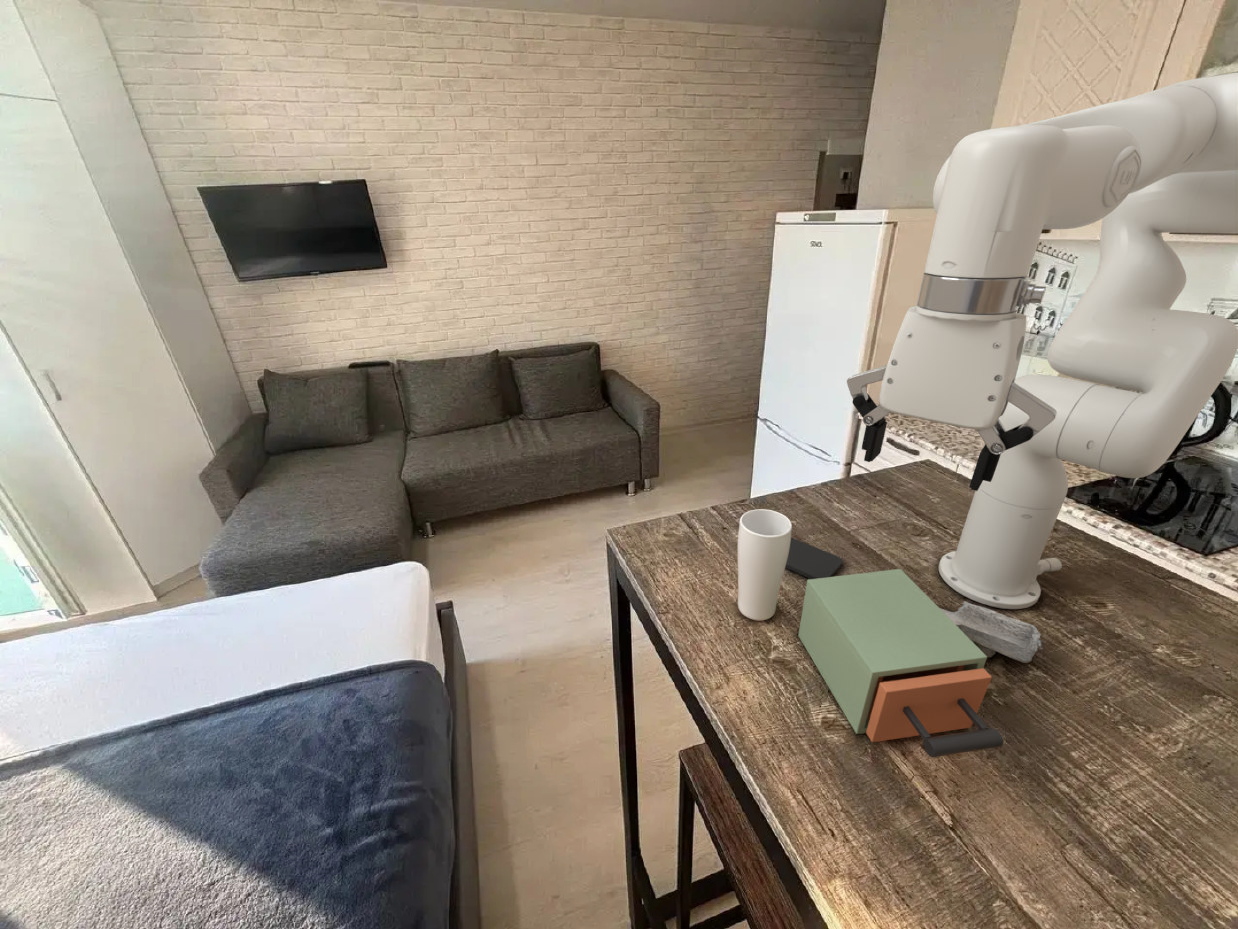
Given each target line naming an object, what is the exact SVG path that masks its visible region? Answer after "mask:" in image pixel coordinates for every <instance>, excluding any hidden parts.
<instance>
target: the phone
mask: <svg viewBox="0 0 1238 929" xmlns="http://www.w3.org/2000/svg"><path fill="white" fill-rule="evenodd" d="M843 564H844V560H843V558H841V557H840V556H838V555H836V554H833V553H830V552H828V551H826V550H824V549H820V548H818V547H816V546H813V545H811V544H808V543H805V542H804V541H801V540H798V539H796V538H794V537H791V543H790V550H789V555H788V559H787V563H786V567H785V569H787V570H789V571H791V572H794V573H796V574H798V575H801V576H804V577H805V578H807V579H809V580H810V579H818V578H827V577H834V576H835V575H836V573H838V571H839V570H840V569H841V568H842V566H843Z"/></svg>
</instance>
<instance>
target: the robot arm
mask: <svg viewBox="0 0 1238 929" xmlns="http://www.w3.org/2000/svg"><path fill="white" fill-rule="evenodd" d="M932 190H933V191H932V205H933V206H932V207H933V210H934V212H935V214H936V217H935V222H934V226H933V232H932V235H931V240H930V244H929V248H928V252H927V257H926V261H925V267H924V270H923V275H922V279H921V284H920V288H919V292H918V296H917V302H916V305H915V306H910V307H909V308H908V309H907V311H906V313H905V315H904V317H903V320H902V322H901V324H900V326H899V330H898V332H897V334H896V338H895V340H894V343H893V346H892V349H891V352H890V355H889V358H888V362H887V364H886V365H882V366H879V367H875V368H872V369H869V370H865V371H862V372H859V373H855V374H852V375H851V376H850V377H848V378H847V379H846V385H847V387H848V391H849V394H850V397H851V398H852V405H853V407H854V408H855V410H857V413H859V415H860V416H861V418H862V422H863V424H864V425H865V429H864V434H863V438H862V443H861V450H863V451H865V454H864V457H863V458H864V459H863V461H864V462H867V463H870V462H873V461H874V460H875V459H876V458H877V457H878V456H879V455H880V454H881V452H882V448H883V444H884V438H885V434H886V430H887V427H888V426H887V425H888V421H887V418H885V417H886V416H888V415H889V414H891V413H893V414H895V415H899V416H903V417H908V418H914V419H918V420H923V421H928V422H933V423H937V424H942V425H948V426H953V427H957V428H963V429H967V430H968V429H969V430H976V431H977V433H978V434H979V436H980V438H981V439H982V441H983V443H984V446H983V447H982V449H981V450H980V452H979V455H978V458H977V461H976V464H975V467H974V470H973V473H972V476H971V480H970V483H969V486H968V487H969V488H970V490H972V491H974V494H973V498H972V500H971V503H970V507H969V510H968V513H967V516H966V518H965V522H964V525H963V527H962V532H961V534H960V537H959V541H958V544H957V547H956V550H954V551H953V550H952V551H950V552H948V553H946V554H944V555H943V556H942V557H941V558H940V559H939V564H938V572H939V576H940V577H941V578H942V580H943V581H944V583H946V584H947V585H948V586H949V587H950V588H952V590H954V591H955V592H957V593H958V594H960V595H962V596H963V597H966V598H967V599H970V600H972V601H974V602H977V603H978V604H982V605H985V606H989V607H991V608H998V609H1005V610H1022V609H1026V608H1030V607H1032V606H1034V605H1035V604H1036V603H1037V602H1038V600H1039V598H1040V596H1041V594H1042V593H1041V592H1042V588H1041V586H1040V584H1039V582H1038V580H1037V577H1038V576H1041V575H1043V574H1044V573H1051V572H1058V571H1061V569H1062V568H1063V563H1062V561H1061V560H1060V559H1059V558H1057V557H1048V558H1042V555H1043V552H1044V550H1045V548H1046V545H1047V543H1048V540H1049V538H1050V535H1051V533H1052V531H1053V528H1054V526H1055V524H1056V521H1057V518H1058V516H1059V514H1060V512H1061V509H1062V507H1063V505H1064V503H1065V500H1066V497H1067V494H1068V489H1069V479H1068V474H1067V470H1066V468H1065V465H1064V463H1063V461H1065V462H1069V463H1073V464H1076V465H1079V466H1082V467H1086V468H1089V469H1092V470H1096V471H1099V472H1103V473H1106V474H1108V475H1113V476H1117V477H1120V478H1126V479H1140V478H1141V479H1142V478H1145V477H1147V476H1149V475H1151V474H1154V473H1155V472H1156V471H1157V470H1159V469H1160V467H1162V466H1163V465H1164V464H1165V462H1167V460H1168V459H1169V458H1170V456H1171V455H1172V454H1173V452H1174V451H1175V450H1176V448H1177V447H1178V445H1179V444H1180V442H1181V441H1182V440H1183V438H1184V437H1185V435H1186V433H1187V432H1188V430H1189V429H1190V427H1192V425H1193V423H1194V422H1195V420H1196V419H1197V417H1198V416H1199V414H1200V413H1201V411H1202V410H1203V408H1204V407H1205V406H1206V404H1207V403H1208V401H1209V400H1210V398H1211V397H1212V395H1213V394H1214V393H1215V391H1216V389H1217V388H1218V387H1219V385H1220V383H1221V382H1222V380H1223V379H1224V378H1225V376H1226V374H1227V372H1228V370H1229V369H1230V367H1231V365H1232V363H1233V361H1234V359H1235V357H1236V354H1237V352H1238V327H1237V325H1236V324H1235V323H1234V322H1233V321H1231V319H1228V318H1226V317H1224V316H1222V315H1221V316H1220V315H1216V314H1212V313H1206V312H1199V311H1189V310H1181V309H1171V308H1172V306H1174V303H1175V302H1176V300H1177V299H1178V298H1179V296H1180V294H1182V292H1183V290H1184V289H1185V287H1186V283H1187V273H1186V270H1185V268H1184V266H1183V263H1182V261H1181V260H1180V258H1179V256H1178V255H1177V253H1176V252H1175V251H1174V249H1173V248H1172V247H1171V246H1170V245H1169V244H1168V243H1167V242H1166V241H1165V240H1164V237H1163V233H1165V234H1166V233H1167V234H1169V233H1170V234H1234V235H1237V234H1238V72H1232V73H1231V72H1230V73H1224V74H1219V75H1212V76H1204V77H1197V78H1191V79H1188V80H1184V81H1179V82H1175V83H1173V84H1170V85H1167V86H1163V87H1159V88H1156V89H1154V90H1151V91H1148V92H1145V93H1141V94H1139V95H1135V96H1132V97H1129V98H1124V99H1121V100H1116V101H1112V102H1107V103H1104V104H1100V105H1095V106H1092V107H1088V108H1083V109H1081V110H1077V111H1073V112H1070V113H1066V114H1063V115H1062V114H1061V115H1059V116H1054V117H1051V118H1047V119H1043V120H1037V121H1033V122H1029V123H1025V124H1020V125H1014V126H1004V127H997V128H996V127H995V128H989V129H984V130H980V131H976V132H972V133H970V134H968V135H966V136H964V137H963V138H962V139H961V140H959V141H958V143H957V144H956V145H955V146H954V148H953V149H952V152H951V154H950V156H949V157H948V158H947V159H946V160H945V162H944V163H943V165H942V166H941V168H940V170H939V172H938V174H937V176H936V179H935V182H934V185H933V189H932ZM1098 221H1101V227H1100V238H1099V239H1100V240H1099V260H1098V266H1097V270H1096V273H1095V275H1094V277H1093V279H1092V281H1091V282H1090V283H1089V285H1088V287H1087V288H1086V290H1085V291H1084V292H1083V294H1082V296H1081V297H1080V298H1079V300H1078V301H1077V302H1076V304H1075V305H1074V307H1073V308H1072V310H1071V312H1070V313H1069V315H1068V316H1067V318H1066V319H1065V320H1064V322H1063V324H1062V325H1060V326H1061V327H1059V329H1058V331H1057V333H1056V334H1055V336H1054V338H1053V339H1052V342H1051V344H1050V345H1049V348H1048V351H1047V363H1048V364H1049V366H1050V368H1051V369H1053V370H1054V371H1055V372H1057V373H1059V374H1061V375H1063V376H1066V377H1063V376H1058V375H1050V374H1026V375H1022V376H1019V377H1017V374H1018V370H1019V366H1020V363H1021V358H1022V353H1023V348H1024V344H1025V337H1026V330H1027V329H1026V328H1027V315H1026V314H1023V313H1018V309H1019V308H1022V307H1023V306H1024V305H1026V306H1027V305H1028V306H1029V305H1030V304H1041V303H1042V302H1043V299H1044V297H1045V294H1046V291H1047V286H1044V285H1043V286H1042V285H1041V286H1040V285H1037V284H1036V283H1032V282H1031V281H1032V280H1029V277H1030V275H1029V273H1030V269H1031V267H1032V264H1033V261H1034V257H1035V254H1036V251H1037V247H1038V245H1039V241H1040V238H1041V235H1042V232H1043V230H1070V229H1072V230H1073V229H1078V228H1083V227H1086V226H1088V225H1091V224H1094V223H1096V222H1098ZM1068 377H1069V378H1068ZM881 381H882V382H881ZM877 382H881V386H880V390H879V397H878V400H879V401H878V402H879V404H878V405H877V404H876V402H875V400H873V398H872V397H871V396H870V394H868V392H867V385H870V384H874V383H877Z"/></svg>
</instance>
